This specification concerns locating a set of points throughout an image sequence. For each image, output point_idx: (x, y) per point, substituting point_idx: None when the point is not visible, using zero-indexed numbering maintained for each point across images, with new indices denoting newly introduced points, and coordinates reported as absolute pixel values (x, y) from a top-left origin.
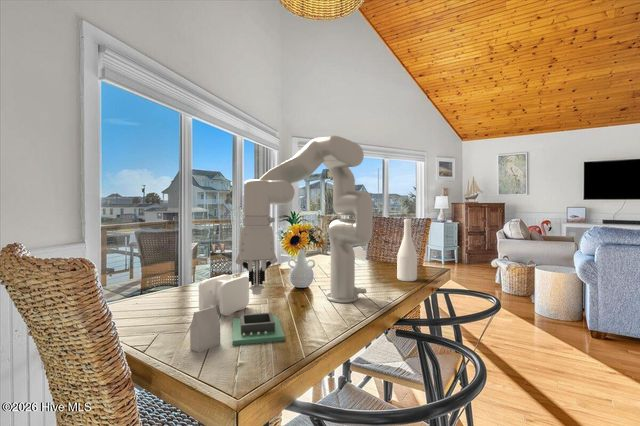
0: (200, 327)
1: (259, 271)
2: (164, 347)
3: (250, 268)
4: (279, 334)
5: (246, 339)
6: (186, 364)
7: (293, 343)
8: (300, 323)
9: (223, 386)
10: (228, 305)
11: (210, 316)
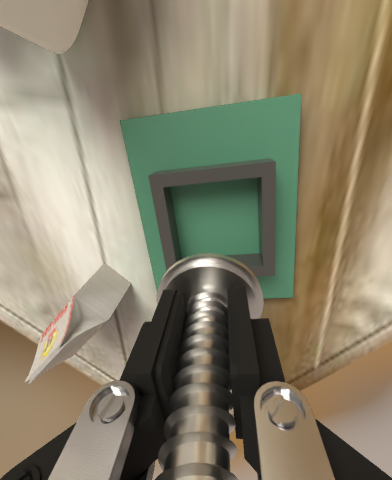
0: (72, 354)
1: (229, 402)
2: (16, 282)
3: (132, 475)
4: (280, 284)
5: None
6: (96, 352)
7: (309, 307)
8: (379, 161)
9: None
10: (57, 8)
11: (73, 343)
